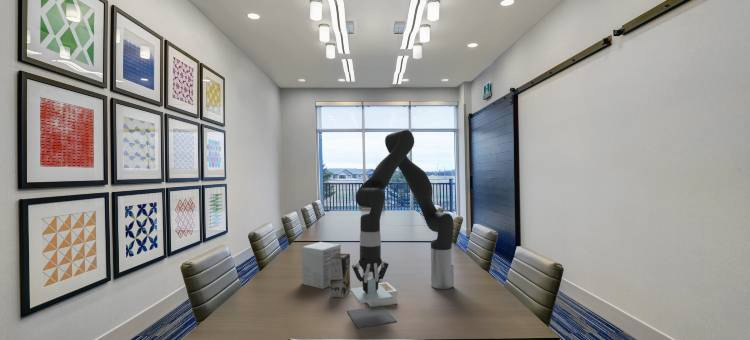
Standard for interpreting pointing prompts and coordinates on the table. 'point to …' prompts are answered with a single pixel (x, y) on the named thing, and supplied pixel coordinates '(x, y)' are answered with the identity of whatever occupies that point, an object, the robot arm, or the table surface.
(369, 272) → the geometric ball
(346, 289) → the coffee box
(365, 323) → the mat
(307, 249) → the supplement box
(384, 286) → the dish
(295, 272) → the table surface
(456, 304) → the table surface
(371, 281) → the lid
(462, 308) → the table surface
